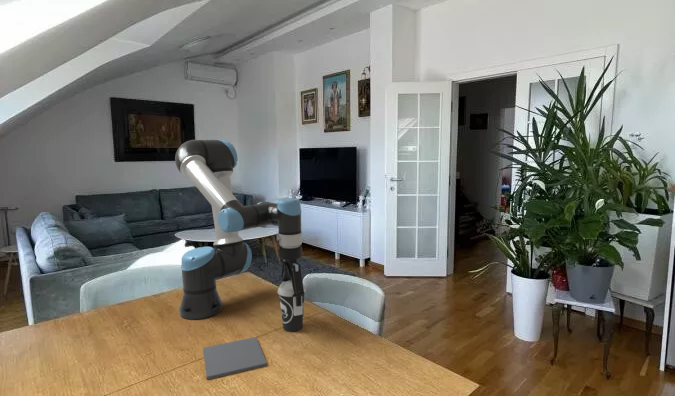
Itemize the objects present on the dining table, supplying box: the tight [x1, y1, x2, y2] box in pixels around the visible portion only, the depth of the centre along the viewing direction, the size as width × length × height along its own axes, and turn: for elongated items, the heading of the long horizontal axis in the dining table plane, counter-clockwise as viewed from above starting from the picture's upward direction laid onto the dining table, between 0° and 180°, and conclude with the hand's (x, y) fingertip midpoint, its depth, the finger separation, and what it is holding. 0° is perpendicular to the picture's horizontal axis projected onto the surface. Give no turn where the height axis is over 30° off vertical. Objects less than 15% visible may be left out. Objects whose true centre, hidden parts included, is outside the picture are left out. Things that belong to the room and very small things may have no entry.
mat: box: [202, 336, 268, 381], centre depth 109 cm, size 16×16×1 cm
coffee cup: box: [277, 280, 307, 333], centre depth 126 cm, size 10×10×15 cm
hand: (292, 306), depth 126 cm, fingers open, 13 cm apart
